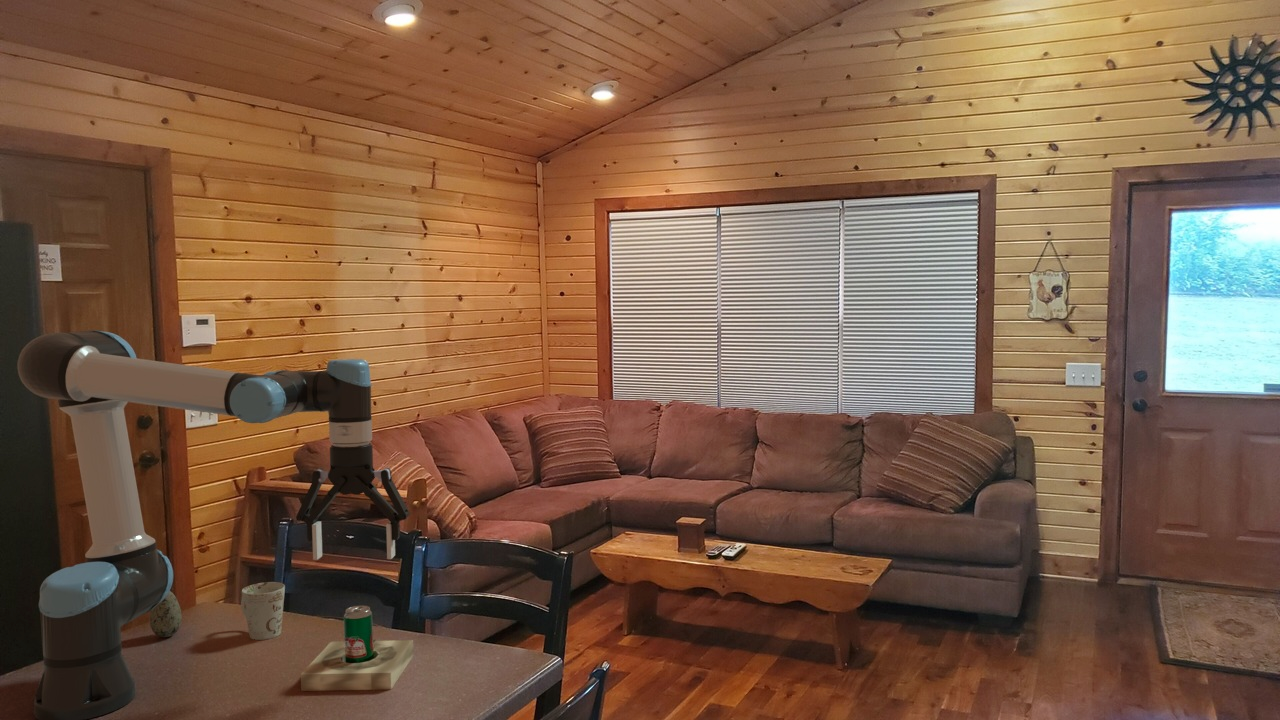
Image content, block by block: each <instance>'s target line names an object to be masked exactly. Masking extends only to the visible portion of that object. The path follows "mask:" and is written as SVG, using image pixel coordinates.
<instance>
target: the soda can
mask: <svg viewBox="0 0 1280 720" xmlns="http://www.w3.org/2000/svg"><path fill="white" fill-rule="evenodd" d="M373 623H374V622H373V612H372V610H371V608H370V606H368V605H353V606H350V607H347V608H346V609H345V613H344V615H343V632H344V634H343V635H344V641H345V662H346V663H362V662H367V661H370V660H372V659H374V649H373V640H374V631H373V630H374V629H373V626H374V625H373Z"/></svg>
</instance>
